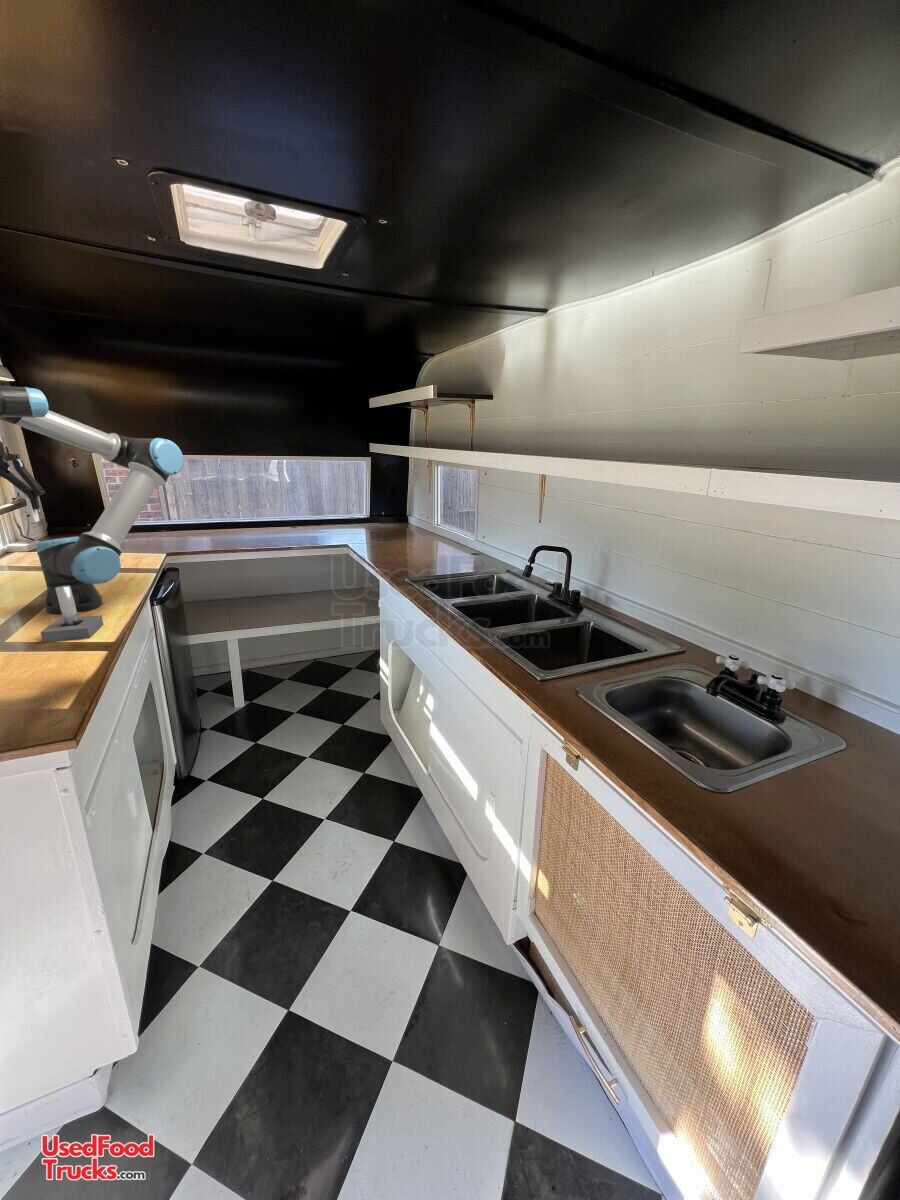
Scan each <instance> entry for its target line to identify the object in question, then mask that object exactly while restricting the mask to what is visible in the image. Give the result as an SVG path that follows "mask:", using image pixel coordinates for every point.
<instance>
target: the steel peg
mask: <svg viewBox="0 0 900 1200" xmlns="http://www.w3.org/2000/svg"><path fill="white" fill-rule="evenodd" d="M55 589H56V593H57V597H58V601H59V605H60V609H61V612H62V614H61V616H62V618H63V620H64V624H65V626H75V625H79V624H80V622H79V618H78V617H79V616H78V615H79V614H78V613H77V610H76V606H75V602H74V598H73V594H72V590H71V586H70V585H63V586H58V587H56V588H55Z"/></svg>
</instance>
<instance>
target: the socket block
mask: <svg viewBox="0 0 900 1200" xmlns="http://www.w3.org/2000/svg"><path fill="white" fill-rule="evenodd" d="M78 618H79V622H80V624H79V625H75V626H65V624H64V620H63V617H61V618H60V617H59V618H57V619H56V620H54V621H53V622H52V623H51V624H49V625H48V626H46V628H44V629H43V630H42V631H40V636H41V638H42V639H41V640H42V641H43V642H42V643H49V642H51V643H52V642H61V641H71V640H72V641H73V640H82V639H83V640H84V639H90V638H91V637H92V636H94V634H95V633H97V631H99V629H101V628H102V627H103V626H104V619H103V616H102V614H100V615H87V616H86V615H85V616H78Z"/></svg>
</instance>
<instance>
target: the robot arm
mask: <svg viewBox="0 0 900 1200" xmlns="http://www.w3.org/2000/svg"><path fill="white" fill-rule="evenodd" d="M0 421H3V422H7V423H9V424H11V425H12V424H13V425H14V426H18V427H21V428H24V429H26V430H30V431H32V432H34V433H38V434H40V435H44V436H45V437H49V438H50V439H51V438H52V439H54V440H57V441H60V442H62V443H65V444H69V445H71V446H74V447H77V448H79V449H83V450H85V451H87V452H91V453H94V454H95V455H99V456H101V457H102V458H103V460H105V461H107V462H110V463H113V464H115V465H118V466H121V467H122V468H125V469H127V470H129V473H127V475H126V477H125V479H124V480H123V481H122V483H121V484H120V486H119V487H118V489H117V491H116V492H115V494H114V495H113V497H112V498H111V499H110V501H109V502H108V504H107V505H106V507H105V508H104V509H103V512H102V513H101V515H100V516H99V517H98V519H97V521H96V522H95V524H94V526H93V527H92V528H91V530H90V531H86V532H82V533H81V534H80V536H71V537H70V536H69V537H62V538H54V539H48V540H43V541H39V542H37V543H36V551H37V552H36V553H37V556H38V560H39V563H40V567H41V570H42V575H43V577H44V582H45V584H46V594H45V601H44V607H45V608H44V609H45V612H46V613H47V614H49V615H62V612H61V609H60V605H59V601H58V597H57V593H56V589H55V588H56V587H58V586H63V585H70V586H71V590H72V594H73V598H74V602H75V606H76V610H77V614H78V613H82V612H87V611H90V610H93V609H96V608H98V607H101V606H102V605H103V603H104V602H103V598H102V596H101V594H100V593H99V591H98V590H97V588H96V587H95V585H100V584H105V583H108V582H111V581H112V580H114V578H116V576H117V575H118V574H119V572H120V570H121V567H122V563H121V558H120V557H121V555H122V553H123V550H122V548H121V544H122V543H123V541H124V539H125V538H126V536H127V534H128V533H129V532H130V530H131V528H132V527H133V525H134V524H135V522H136V520H137V519H138V518H139V516H140V514H141V513H142V511H143V509H145V507H146V505H147V503H148V501H149V499H151V496H152V495H153V493H154V492H155V491H156V488H157V487H158V486H159V487H160V486H164V485H165V484H166V482H167V481H168V479H169V478H170V476H175V475H177V474H179V473H180V472H181V471H182V470H183V467H184V462H185V460H184V457H183V452H182V450H181V449H180V447H179V445H177V444H176V442H174V441H172V440H169V439H165V438H162V437H161V438H160V437H156V438H142V437H139V438H138V437H137V438H136V437H127V436H123V435H120V434H118V433H115V432H110V433H107V432H104V431H103V430H100V429H96V428H95V427H91V426H89V425H86V424H84V423H81V422H79V421H77V420H75V419H71V418H70V417H67V416H65V415H62V414H60V413H56V412H54V411H52V410H49V403H48V399H47V397H46V395H45V394H44V393H43V391H41V390H40V389H38V388H34V387H33V388H31V387H27V386H11V385H0ZM1 438H2V435H1V433H0V439H1ZM10 466H11V467H12V468H13V469H15V471H16V473H18V474H19V476H20V477H21V478H22V479H23V480H24V482H23V481H22V480H21V479H20V478H18V477H17V476H16V475H15V473H13V472H12V471H10V470H9V468H10ZM0 478H3V479H5V480H7V481H8V482H9V483H10V484H12V485H13V486H14V487H16V488H17V489H18V490H19V491H20V492H22V494H23V493H24V495H26V496H27V497H25V502H26V506H27V510H28V513H29V518H30V521H31V523H39V522H40V517H39V513H38V510H39V509H41V506H40V502H39V499H38V498H39V496H41V495H44V494H45V493H46V491H45V490H44V488H43V487H42V486H41V485H40V483H38V481H37V480H36V478H34V477H33V475H32V474H31V473H30V472H29V471H28V469H26V467H25V464H24V461H23V460H22V459H21V458H20V459H19V458H18V459H17V458H16V459H12V460H8V458H7V455H6V450H5V446H4V442H2V441H1V440H0ZM94 584H95V585H94Z"/></svg>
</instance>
